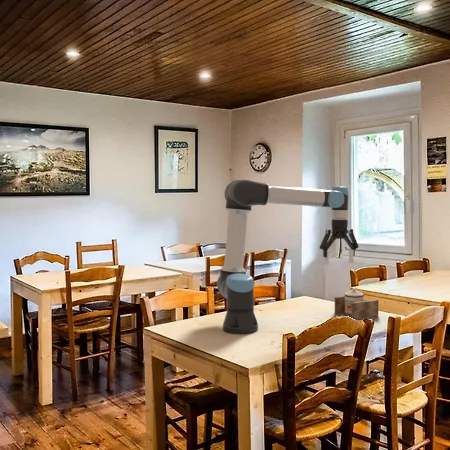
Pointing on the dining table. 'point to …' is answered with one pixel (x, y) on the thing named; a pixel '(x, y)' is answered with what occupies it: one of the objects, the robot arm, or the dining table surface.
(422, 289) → the dining table surface
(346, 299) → the teacup with lid
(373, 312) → the caddy
